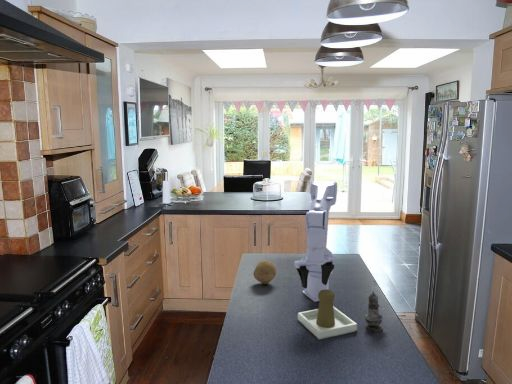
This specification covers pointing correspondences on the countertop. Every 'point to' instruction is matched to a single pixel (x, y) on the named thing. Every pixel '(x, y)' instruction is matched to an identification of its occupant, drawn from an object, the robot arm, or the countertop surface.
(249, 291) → the countertop surface
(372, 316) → the gray chess piece
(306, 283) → the robot arm
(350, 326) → the tray
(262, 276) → the natural sponge
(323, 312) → the cork
